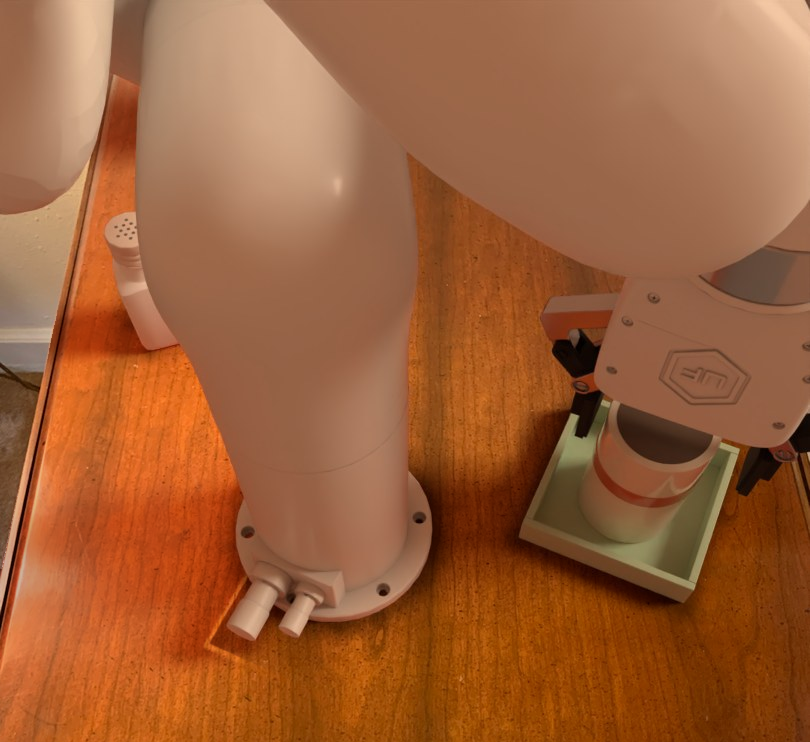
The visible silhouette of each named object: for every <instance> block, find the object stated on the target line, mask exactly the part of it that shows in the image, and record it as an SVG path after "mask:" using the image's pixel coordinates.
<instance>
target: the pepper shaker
mask: <svg viewBox="0 0 810 742" xmlns="http://www.w3.org/2000/svg"><path fill="white" fill-rule="evenodd" d="M103 237H104V240H105V242H106V244H107V247H108V249H109V252H110V254H111V256H112V258H113V259H112V261H111V264H112V270H113V275H114V279H115V284H116V288H117V291H118V294H119V297H120V299H121V302H122V304H123V305H124V308H125V310H126V312H127V314H128V317H129V319H130V321H131V323H132V325H133V328H134V331H135V333H136V335H137V337H138V339H139V341H140V343H141V345H142V346H143V348H145V349H146V350H147V351H155V350H159V349H163V348H167V347H171V346H176V345H180V344H179V343H178V342H177V340H176V339H175V337H174V336H173V334H172V333H171V331H170V330H169V328H168V327H167V325H166V324H165V322H164V321H163V319H162V318H161V316H160V314H159V312H158V310H157V309H156V307H155V304H154V302H153V300H152V297H151V295H150V293H149V290H148V287H147V284H146V280H145V277H144V273H143V268H142V264H141V258H140V252H139V244H138V237H137V225H136V211H127V212H126V211H125V212H122V213H120V214H117V215H115V216H113V217H111V218H110V220H109V221H108V222H107V223H106V224H105V226H104V231H103Z"/></svg>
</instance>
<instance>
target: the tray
mask: <svg viewBox="0 0 810 742" xmlns="http://www.w3.org/2000/svg"><path fill="white" fill-rule="evenodd" d="M611 402H612V401H611ZM611 402H610V401H608V400H605V399H602V402H601V405H600V407H599V410H598V412H597V414H596V417H595V419H594V421H593V424H592V426H591V428H590V431H589V433H588V435H587V438H586V437H583V439H581V438H579V437H576V436H574V435H575V431H576V428H577V424H578V421H579V417H580V416H578V415H575V414H572V413H570V414H569V416H568V419H567V421H566V423H565V425H564V428H563V430H562V433H561V435H560V437H559V439H558V441H557V444H556V446H555V448H554V451H553V453H552V454H551V457H550V459H549V462H548V464H547V466H546V469H545V471H544V473H543V475H542V477H541V480H540V482H539V485H538V487H537V489H536V491H535V493H534V496H533V498H532V500H531V502H530V505H529V507H528V509H527V512H526V514H525V516H524V518H523V521H522V523H521V527H520V530H519V532H518V533H519V534H518V538H519V539H521V540H524V541H526V542H529V543H532V544H534V545H536V546H539V547H541V548H544V549H546V550H549V551H551V552H554V553H557V554H559V555H562V556H564V557H567V558H569V559H572V560H574V561H577V562H579V563H581V564H584V565H587V566H589V567H592V568H594V569H597V570H599V571H601V572H604V573H607V574H609V575H612V576H614V577H617V578H619V579H622V580H625V581H627V582H629V583H632V584H634V585H636V586H639V587H642V588H644V589H646V590H650V591H652V592H654V593H656V594H659V595H662V596H664V597H667V598H668V599H671V600H673V601H677V602H679V603H681V604H682V603H683V604H684V603H685V602H686V601H687V599H688V598H690V596H691V595H692V593H693V592H695V591H694V590H695V589H696V586H697V582H698V579H699V576H700V573H701V570H702V566H703V563H704V560H705V558H706V554H707V553H708V548H709V545H710V543H711V539H712V536H713V534H714V533H713V532H714V529H715V527H716V524H717V520H718V517H719V515H720V511H721V509H722V506H723V502H724V499H725V496H726V493H727V490H728V487H729V484H730V480H731V478H732V475H733V472H734V468H735V466H736V463H737V459H738V456H739V453H740V451H741V449H740V448H738V447H736V446H733V445H731V444H727V443H725V442H722V441H721V444H720V446H719V449H718V450H717V452H716V454H715V455H714V457H713V458H712V460H711V461H710V463H709V464H708V466H707V467H706V469H705V471H704V472H703V475H702V477H701V478H700V480H699V482H698V483H697V485H696V486H695V488H694V489H693V491H692V492H691V493H690V494H689V495H688V497H687V499H686V500H685V502H684V503H683V505H682V506H681V508H680V509H679V511H678V512H677V514H676V516H675V517H674V519H673V520H672V522H671V523H670V525H669V526H668V528H667V529H666V530H665V531H664V532H663V533H662V534H660V535H659V536H657V537H656V538H653V539H651V540H649V541H645V542H640V543H623V542H619V541H615V540H612V539H610V538H607V537H605V536H603V535H602V534H600V533H599V532H597V531H596V530H595V529H594V528H593V527H592V526H591V525H590V524H589V523H588V522H587V521H586V519H585V518H584V516H583V514H582V512H581V510H580V507H579V503H578V489H579V485H580V482H581V479H582V477H583V474H584V471H585V469H586V466H587V464H588V461H589V458H590V456H591V453H592V451H593V447H594V443H595V441H596V438H597V435H598V433H599V431H600V429H601V427H602V425H603V422H604V420H605V417H606V414H607V412H608V409H609V407H610V404H611Z"/></svg>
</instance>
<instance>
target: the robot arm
mask: <svg viewBox="0 0 810 742" xmlns="http://www.w3.org/2000/svg"><path fill="white" fill-rule="evenodd" d="M110 74H113V75H115V76H117V77H119V78H121V79H124V80H126V81H127V82H130V83H132V84H134V85H135V86H138V87H139V90H138V91H139V92H138V99H137V110H136V111H137V113H136V114H137V115H136V139H135V163H134V164H135V166H134V167H135V169H134V208H135V209H134V210H135V211H134V212H136V225H137V237H138V244H139V252H140V258H141V264H142V268H143V273H144V277H145V280H146V284H147V287H148V290H149V293H150V295H151V297H152V300H153V302H154V304H155V307H156V309H157V310H158V312H159V314H160V316H161V318H162V319H163V321H164V322H165V324H166V325H167V327H168V328H169V330H170V331H171V333H172V334H173V336H174V337H175V339H176V340H177V342H178V343H179V344H178V345H179V346H180V348H181V349H182V351H183V352H184V354H185V356H186V357H187V359H188V361H189V362H190V364H191V365H190V366H192V369H193V371H194V373H195V375H196V377H197V380H198V382H199V384H200V387H201V389H202V392H203V395H204V397H205V399H206V402H207V405H208V408H209V410H210V413H211V415H212V418H213V421H214V423H215V426H216V427H217V429H218V431H219V434H220V436H221V439H222V442H223V445H224V447H225V451H226V453H227V456H228V458H229V462H230V464H231V466H232V469H233V472H234V475H235V477H236V481H237V483H238V485H239V488H240V491H241V493H242V495H243V496H242V497H243V499H242V502H241V505H240V507H239V509H238V512H237V518H236V523H235V543H236V549H237V553H238V556H239V557H238V558H239V560H240V563H241V566H242V568H243V570H244V571H245V574H246V576H247V578H248V580H249V581H250V583H251V585H250V586H249V588H248V590H247V592H246V593H245V595H244V596H243V598H241V599H240V600H239V602H238V603H237V605H236V607H235V609H234V610H233V612H232V614H231V616H230V617H229V619H228V621H227V623H225V626H226V628H227V629H228V630H229V631H231V632H232V633H234V634H235V635H237V637H240V638H242V639H244V640H247V641H250V642H256V640H257V638H258V636H259V634H260V633H261V631H262V629H263V627H264V626H265V624H266V622H267V620H268V618H269V617H270V612H271V610H272V608H273V606H275V607H277V608H278V609H280V610H281V611H283V612H285V614H284V616H283V617H282V619H281V621H280V623H279V625H278V627H277V628H278V629H279V631H281V632H282V633H283V634H285V635H287V636H289V637H291V638H295V639H299V638H300V636H301V634H302V632H303V630H304V628H305V626H306V625H307V623H308V621H309V620H310V621H313V622H319V623H343V622H348V621H353V620H359V619H362V618H365V617H368V616H370V615H373V614H375V613H378V612H380V611H381V610H384V609H386V608H387V607H388V606H390V605H392V604H394V603H395V602H396V601H397V600H398V599H400V598H401V597H402V596H403V595H404V594H405V593H407V591H409V590H410V588H411V587H412V586H413V584H414V583H415V582H416V580H417V579H418V578H419V577H420V575H421V573H422V571H423V569H424V567H425V565H426V563H427V561H428V557H429V554H430V549H431V546H432V536H433V521H432V511H431V508H430V504H429V501H428V498H427V495H426V494H425V492H424V489H423V488H422V486H421V484H420V482H419V481H418V480H417V479H416V477H415V476H414V475H413V474H412V473H411V472H410V470H409V464H410V463H409V455H410V453H409V452H410V449H409V447H410V445H409V443H410V442H409V441H410V439H409V437H410V436H409V435H410V432H409V431H410V384H409V364H410V363H409V361H410V359H409V358H410V357H409V351H410V347H409V346H410V332H411V324H412V323H411V322H412V316H413V311H414V305H415V300H416V295H417V289H418V279H419V236H418V224H417V214H416V206H415V199H414V192H413V185H412V179H411V173H410V167H409V160H408V159H409V158H408V154H409V155H411V156H412V157H413V158H414V159H415V160H416V161H418V162H419V163H420V164H421V165H423V166H424V167H425V168H426V169H427V170H429V171H430V172H431V173H432V174H434V175H435V176H436V177H437V178H439V179H440V180H442V181H443V182H445V183H446V184H447V185H449V186H450V187H451V188H453V189H454V190H456V191H457V192H459V193H460V195H463V196H464V197H466V198H468V199H469V200H470V201H472V202H474V203H476V204H477V205H479V206H481V207H482V208H484V209H485V210H487V211H488V212H490V213H492V214H493V215H495V216H496V217H498V218H499V219H501V220H503V221H505V222H507V223H508V224H510V225H511V226H512V227H514V228H516V229H518V230H519V231H521V232H522V233H524V234H525V235H528V236H529V237H531V238H532V239H534V240H536V241H537V242H539V243H541V244H543V245H544V246H546V247H548V248H550V249H552V250H553V251H555V252H557V253H559V254H561V255H563V256H565V257H567V258H570V259H571V260H574V261H575V262H577V263H579V264H582V265H584V266H587V267H589V268H593V269H595V270H599V271H602V272H604V273H607V274H611V275H613V276H620V277H624V281H623V284H622V287H621V289H620V292H607V293H604V292H603V293H589V294H588V293H587V294H575V295H559V296H558V295H557V296H550V297H549V298H548V299H547V301H546V302H545V305H544V307H543V309H542V311H541V313H540V316H539V321H540V324H541V326H542V329H543V330H544V332H545V335H546V336H547V339H548V341H550V342H551V344H552V348H551V354H552V355H553V357H554V358H555V359H556V360H557V361H558V362H559V364H560V365H561V366H562V367H563V369H564V370H565V371H566V372H567V373H568V375H569V376H570V377H571V378H572V379H571V381H570V387H571V389H572V390H573V391H574V396H573V398H572V399H573V400H572V403H571V407H570V411H569V413H570V414H571V413H572V414H575V415H578V416H580V417H579V421H578V424H577V428H576V431H575V435H574V436H576V437H579V438H581V439H583V437H586V438H587V435H588V433H589V431H590V428H591V426H592V424H593V421H594V419H595V417H596V414H597V412H598V410H599V407H600V405H601V402H602V400H604V396H607V397H608V398H610V399H611V400H613V399H614V400H616V401H618V402H620V403H622V404H625V405H627V406H630V407H633V408H636V409H638V410H641V411H644V412H647V413H650V414H653V415H655V416H658V417H661V418H664V419H667V420H670V421H673V422H676V423H679V424H681V425H684V426H687V427H690V428H693V429H696V430H699V431H702V432H705V433H708V434H711V435H715V436H718V437H721V438H722V439H724V440H727V441H730V442H734V443H737V444H740V445H744V446H749V448H748V450H747V451H746V452H747V453H746V455H745V458H744V461H743V464H742V467H741V470H740V473H739V477H738V480H737V482H736V485H735V489H734V490H735V491H736V492H737V494H738V495H741V496H742V497H746V498H747V497H748V496H749V495H750V494H751V492H752V490H753V489H754V488H755V486H756V485H757V483H758V482H759V481H760V480H763V481H765V482H770V481H771V480H772V479H773V477H774V476H775V474H776V473H777V472H778V470H779V469H780V468H781V466H782V464H783V463H784V464H789V463H794V462H795V461H796V460H797V459H798V456H799V454H806V453H810V412H808V411H809V410H810V0H0V215H2V216H7V215H8V216H9V215H18V214H24V213H28V212H33V211H37V210H39V209H43V208H45V207H48V205H50V204H53V202H55V201H56V200H57V199H59V198H60V197H61V196H63V195H65V194H66V193H67V192H68V191H69V190H70V189H71V188H72V187H73V186H74V185H75V183H76V182H78V180H79V179H80V177H81V175H82V172H83V171H84V169H85V168H86V166H87V164H88V162H89V160H90V158H91V156H92V154H93V152H94V149H95V146H96V144H97V141H98V136H99V131H100V128H101V123H102V119H103V115H104V111H105V106H106V100H107V94H108V87H109V77H110ZM593 329H605V333H604V336H603V337H602V338H601V339H598V340H596V341H593V342H592V341H591V339H590V338H589V337H588V335H587V334H586V333H585V332H584V331H583V330H593ZM417 521H421V522H422V523H421V522H420V523H419V522H418V523H417ZM249 536H251V537H249ZM382 592H385V593H386V595H380V593H382Z"/></svg>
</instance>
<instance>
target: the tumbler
mask: <svg viewBox="0 0 810 742" xmlns="http://www.w3.org/2000/svg"><path fill="white" fill-rule="evenodd" d="M722 440H723V438H721V437H718V436H715V435H711V434H708V433H705V432H702V431H699V430H696V429H693V428H690V427H687V426H684V425H681V424H679V423H676V422H673V421H670V420H667V419H664V418H661V417H658V416H655V415H653V414H650V413H647V412H644V411H641V410H638V409H636V408H633V407H630V406H627V405H625V404H622V403H620V402H618V401H616V400H614V399H611V404H610V407H609V409H608V412H607V414H606V417H605V420H604V422H603V425H602V427H601V429H600V431H599V433H598V435H597V438H596V441H595V443H594V447H593V451H592V453H591V456H590V458H589V461H588V464H587V466H586V469H585V471H584V474H583V477H582V479H581V482H580V485H579V489H578V503H579V507H580V510H581V512H582V514H583V516H584V518H585V519H586V521H587V522H588V523H589V524H590V525H591V526H592V527H593V528H594V529H595V530H596V531H597V532H599V533H600V534H602V535H603V536H605V537H607V538H610V539H612V540H615V541H619V542H623V543H640V542H645V541H649V540H651V539H653V538H656V537H657V536H659V535H660V534H662V533H663V532H664V531H665V530H666V529H667V528H668V526H669V525H670V523H671V522H672V520H673V519H674V517H675V516H676V514H677V512H678V511H679V509H680V508H681V506H682V505H683V503H684V502H685V500H686V499H687V497H688V495H689V494H690V493H691V492H692V491H693V489H694V488H695V486H696V485H697V483H698V482H699V480H700V478H701V477H702V475H703V472H704V471H705V469H706V467H707V466H708V464H709V463H710V461H711V460H712V458H713V457H714V455H715V454H716V452H717V450H718V449H719V446H720V444H721V442H722Z"/></svg>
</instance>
